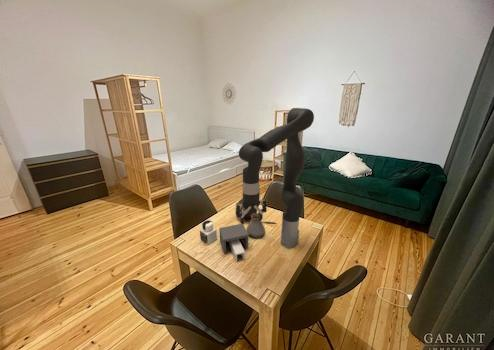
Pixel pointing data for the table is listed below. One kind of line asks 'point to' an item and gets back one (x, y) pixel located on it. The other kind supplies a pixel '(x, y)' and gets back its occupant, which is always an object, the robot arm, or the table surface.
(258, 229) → the coffee pot
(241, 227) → the shelf
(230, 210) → the table surface
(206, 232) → the medicine bottle
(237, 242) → the long white plank
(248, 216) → the wooden sphere
